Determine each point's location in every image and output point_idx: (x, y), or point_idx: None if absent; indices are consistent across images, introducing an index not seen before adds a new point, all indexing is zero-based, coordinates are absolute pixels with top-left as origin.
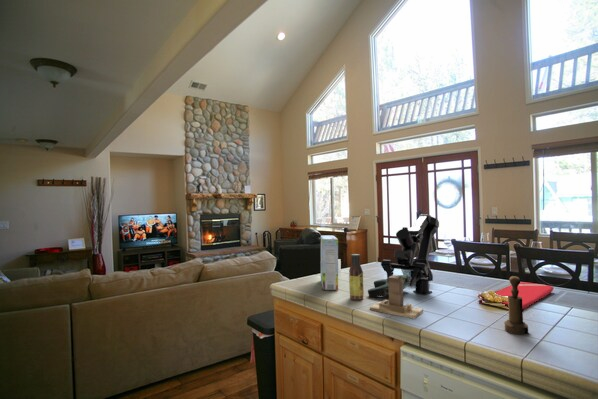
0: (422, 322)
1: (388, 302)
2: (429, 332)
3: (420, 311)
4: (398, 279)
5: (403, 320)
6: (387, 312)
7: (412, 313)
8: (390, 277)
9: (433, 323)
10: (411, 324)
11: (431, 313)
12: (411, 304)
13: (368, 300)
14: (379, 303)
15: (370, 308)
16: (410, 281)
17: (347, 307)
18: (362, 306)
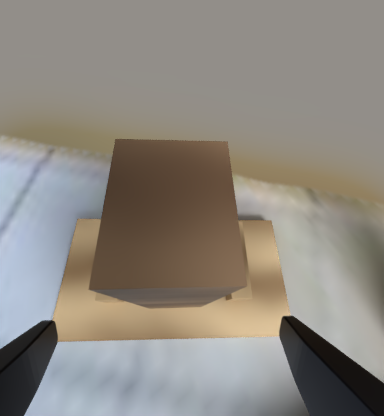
0: (49, 202)
1: (229, 297)
2: (25, 142)
3: (58, 300)
4: (117, 158)
5: None
6: None
7: (89, 242)
8: (204, 144)
9: (7, 213)
10: (84, 169)
11: (8, 339)
12: (95, 300)
13: (372, 360)
14: (239, 221)
15: (267, 222)
16: (15, 355)
17: (344, 204)
18: (317, 246)
